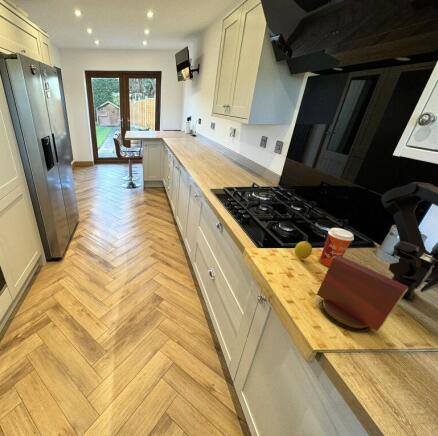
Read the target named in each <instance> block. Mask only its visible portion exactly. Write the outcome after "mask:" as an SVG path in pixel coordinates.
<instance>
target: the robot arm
mask: <svg viewBox="0 0 438 436" xmlns="http://www.w3.org/2000/svg"><path fill="white" fill-rule="evenodd" d="M424 201H426V202H428V203H430V204H432V205H434V206H436V207H438V186H435V185H434V184H432V183H429V182H428V183H427V182H420V181H419V182H418V181H414V182H410V183H408V184H406V185H403V186H400V187H394V188H392V189H390V190H388V191H386V192H384V193H383V194H382V196H381V203H382V205H383V207H384V210H385V211H387V212H388V213H390V214H391V215H392V217H393V220H394V224H395V227H396V231H397V234H398V238H399V241H398V242H396V243H395V244H394V245H393V253H394V255H395V256H396V257H397V258H398V261H397V262H393V263H390V264H389V266H388V271H389V272H390V273H392V275H393V276H392V278H391V279H393V280H395V281H397V282H399V283H401V284H404V285H406V286H408V290H407V291H406V293H405V294H404V296H403V297H402V298H404V299H407V300H408V301H412V300H413V296H414V294H415V290H418V289H419V288H420V287H421V286H422V285H423V284H424V283H426V284H425V285H423V287H422V288H420V293H425V292H427V291H429V290H430V291H431V290H433V289H435V288H438V241H437V242H436V243H435V245H434V246H433V247H432V248H431V251H430V252H429V251H428V250H427V248H426V246H425V242H424V240H423V237H422V233H421V230H420V227H419V225H418V222H417V217H416V215H415V211H416V209H417V207H418V206H419V203H422V202H424Z"/></svg>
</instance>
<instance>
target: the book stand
mask: <svg viewBox="0 0 438 436" xmlns="http://www.w3.org/2000/svg"><path fill="white" fill-rule="evenodd" d="M407 290H408V286H406V285H404V284H401V283H399V282H397V281H395V280H393V279H392V278H391V277H388V276H386V275H384V274H382V273H380V272H377V271H376V270H372V269H371V268H369V267H366V266H364V265H361V264H359V263H357V262H355V261H354V260H351V259H349V258H346V257H344V256H340V255H338V256H336V257H334V258H333V260H332V262H331V264H330V267H328V268H327V270H326V273H325V275H324V277H323V280H322V282H321V283H320V286H319V289H318V291H317V293H316V296H318V297H319V298H321V299H322V300H323V303H322V304H323V308H324V310H325V311H326V312H327V313H328V314H329V315H330V316H331V317H332V318H334V319H335V320H337V321H338V322H340V323H342V324H344V325H347V326H349V327H353V328H359V329H362V328H366V327H368V326H369V328H370V329H371V330H374V331H376V332H378V331H380V330H382V328H383V326H385V324H386V322H387V321H388V319H389V318H390V316H391V315H392V313H393V312H394V310H395V309H396V308H397V306H398V305H399V303H400V302H401V300H402V299H403V298H404V297H403V296H404V294H405V293H406V291H407Z"/></svg>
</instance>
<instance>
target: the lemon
mask: <svg viewBox="0 0 438 436" xmlns="http://www.w3.org/2000/svg"><path fill="white" fill-rule="evenodd" d="M312 251H313V247H312V245H311V244H310V243H309V242H308V241H306V240H305V241H304V240H303V241H299V242H298V243H297V244H296V245H295V246H294V254H295V256H296V257H297V259H299V260H302V259H303V260H305V259H307V258H309V257H310V256H311V254H312Z"/></svg>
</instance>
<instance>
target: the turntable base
mask: <svg viewBox="0 0 438 436" xmlns="http://www.w3.org/2000/svg"><path fill="white" fill-rule="evenodd" d="M323 300H324V299H322V300H321V302H320V304H319V308H320V311H321V312H322V314H323V315H324V316H325V317H326V318H327V319H328V320H329V321H330V322H332V323H333V324H335V325H336V326H338V327H340V328H342V329H345V330H347V331H351V332H356V333H364V332H367V331H368V330H369V329H370V327H369V326H368V327H366V328H362V329H359V328H353V327H349V326H347V325H344V324H342V323H340V322H338V321H337V320H335V319H334V318H332V317H331V316H330V315H329V314H328V313H327V312H326V311H325V310H324V308H323V304H322V303H323Z"/></svg>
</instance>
